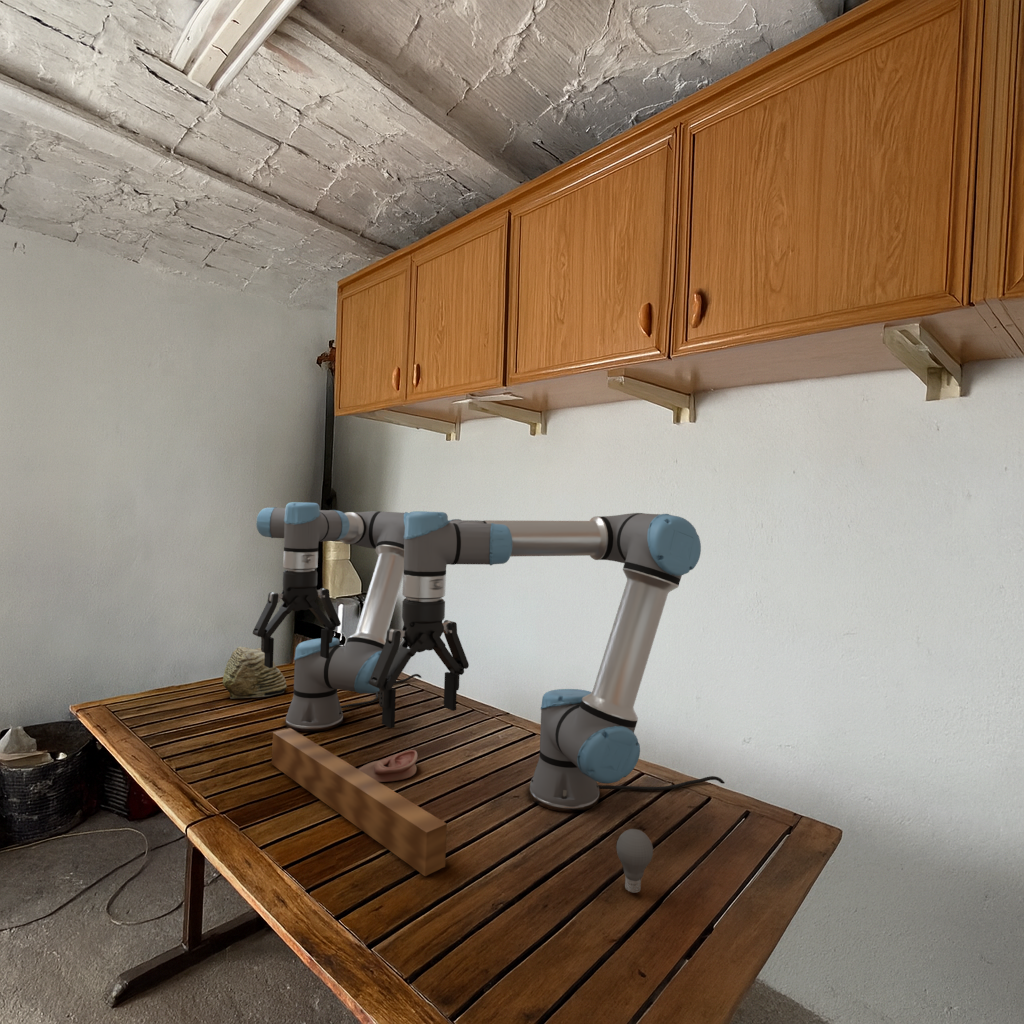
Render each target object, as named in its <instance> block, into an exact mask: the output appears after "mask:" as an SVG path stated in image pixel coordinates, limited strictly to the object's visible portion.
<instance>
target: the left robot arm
mask: <svg viewBox="0 0 1024 1024" xmlns="http://www.w3.org/2000/svg"><path fill="white" fill-rule="evenodd" d="M409 513H410V512H407V511H405V512H398V511H397V512H396V511H380V510H372V511H371V510H369V511H368V510H367V511H357V512H355V511H347V512H343V511H340V510H336V509H329V510H326V509H321V508H320V505H319V504H318V502H305V501H303V502H301V501H300V502H299V501H291V502H288V503H287V504H286V505H285V507H276V506H274V507H264V508H262V509H261V510H259V512H258V514H257V516H256V523H255V524H256V529H257V532H258V533H259V534H260V535H261V536H262V537H265V538H271V539H284V541H283V543H284V544H283V545H284V546H283V558H282V559H283V560H282V561H283V562H282V568H283V569H285V570H283V572H282V591H281V592H273V591H270V592H268V594H267V601H266V604H265V606H264V608H263V610H262V611H261V614H260V616H259V617H258V620H257V622H256V624H255V626H254V628H253V629H252V635H253V636H256V637H258V638H260V639H261V640H260V648H261V651H262V652H264V653H265V660H264V666H266V667H268V668H273V661H274V646H275V638H274V637H272V635H274V633H275V632H276V630H277V629H278V628H279V626H280V625H281V624H282V623H283V622H284V620H285V619H286V618H287V616H288V615H290V614H291V613H292V612H293V611H294V612H299V611H301V610H302V611H308V610H309V611H310V612H311V613H312V614H313V615H314V616H315V618H316V619H317V621H319V623H320V624H321V626H323V627H324V628H320V638H319V637H318V638H313V639H307V640H304V641H302V642H299V643H298V644H297V645H296V647H295V652H294V653H295V654H294V658H293V660H294V672H293V695H292V696H293V697H292V699H291V702H290V704H289V707H288V709H287V713H286V715H285V726H286V728H287V729H289V728H291V729H293V730H295V731H296V732H301V733H316V732H325V731H329V730H332V729H335V728H337V727H339V726H340V725H342V723H343V722H344V714H343V709H347V708H352V707H358V706H365V705H369V704H372V703H375V702H377V701H379V688H377V687H375V686H372V685H370V684H369V680H370V678H371V675H372V673H373V671H374V668H375V666H376V663H377V661H378V659H379V656H380V654H381V652H382V649H383V647H384V645H385V642H386V636H387V630H388V629H389V628H390V627H391V626H390V625H391V623H392V622H391V621H392V619H393V615H394V611H395V608H396V604H397V600H398V597H399V594H400V589H401V588H402V587H401V586H402V584H403V574H404V534H405V523H406V516H407V515H408V514H409ZM336 541H340V542H341V543H343V544H344V545H353V546H356V547H357V546H358V547H362V548H365V549H366V548H367V549H371V550H373V549H374V551H375V553H376V555H377V556H378V557H377V560H376V563H375V566H374V569H373V573H372V577H371V580H370V583H369V586H368V589H367V592H366V596H365V599H364V602H363V606H362V608H361V612H360V616H359V620H358V622H357V626H356V629H355V632H354V633H353V634H351V635H350V636H348V637H347V639H346V642H345V645H340V644H341V643H340V642H341V641H340V639H339V638H337V637H334V636H333V634H334V631H335V630H336V628H338V627H340V626H341V623H342V622H341V620H340V618H339V616H338V614H337V611H336V609H335V607H334V604H333V601H332V600H331V596H330V595H331V593H330V589H328V588H326V587H321V588H320V589H317V586H318V574H319V573H318V571H317V570H316V569H317V568H318V567H319V566H318V565H319V564H318V563H319V543H321V542H336ZM317 597H318V598H319V599H320V601H321V602H320V603H322V606H323V608H324V610H325V612H326V615H327V616H326V615H325V614H324V612H323V611H322V609H320V606H319V605H318V604H317V603H316V599H317ZM281 600H282V604H281V605H280V606H279V608H278V610H277V611H276V613H275V610H276V608H277V606H278V603H280V602H281ZM274 613H275V614H274ZM273 614H274V616H273ZM415 677H417V678H419V679H422V675H420V674H419V673H414V674H411V675H410V676H408V677H406V678H403V679H399V680H396V682H395V683H394V685H395V684H400V683H404V682H407V681H409V680H411V679H412V678H415ZM338 690H339V691H347V692H351V693H353V692H354V693H357V694H361V695H362V694H369V695H372V694H375V698H373V699H370V700H367V701H361V702H354V703H348V704H344V705H341V702H340V699H339V695H338Z"/></svg>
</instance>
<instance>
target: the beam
mask: <svg viewBox="0 0 1024 1024" xmlns="http://www.w3.org/2000/svg"><path fill="white" fill-rule="evenodd" d="M271 743H272V745H271V747H272V748H271V765H272V766H273V767H274V768H276V769H277V770H279V771H280V772H282V773H283V774H284V775H286V776H287V777H288V778H290V779H291V780H293V781H294V782H295V783H296V784H297V785H300V787H302V789H305V790H306V791H307V792H309V793H310V794H311V795H313V796H314V797H315V798H316V799H318V800H320V801H321V802H322V803H324V804H325V805H327V806H329V808H331V809H332V810H333V811H335V812H336V813H337V814H338V815H340V816H342V817H343V818H344V819H346V820H347V821H348V822H350V823H351V824H352V825H354V826H355V827H357V828H358V829H359V830H361V831H362V832H364V833H365V834H366V835H368V837H370V838H372V839H373V840H375V842H377V843H379V844H380V845H381V846H383V847H384V848H385V849H387V850H388V851H389V852H391V853H392V854H393V855H395V857H398V858H399V859H400V860H401V861H403V862H405V863H406V864H407V865H409V866H410V867H411V868H412V869H414V870H415V871H416V872H418V873H419V874H420V875H422V876H423V877H427V876H429V875H431V874H433V873H435V872H437V871H439V870H441V869H443V868H446V851H447V831H448V830H447V829H448V828H447V827H448V824H447V823H446V822H445V821H444V820H442V819H440V818H439V817H437V816H435V815H433V814H432V813H430V812H429V811H427V810H426V809H424V808H422V807H420V806H419V805H417V804H415V803H414V802H412V801H411V800H409V799H408V798H405V797H404V796H403V795H400V794H399V793H397V792H396V791H394V790H392V789H391V788H389V787H388V786H386V785H384V783H382V782H378V781H376V780H375V779H373V778H371V777H370V776H368V775H366V774H365V773H363V772H361V771H360V770H358V769H359V768H356V767H355V766H353V765H351V764H350V763H349V762H347V761H346V760H344V759H342V758H341V757H339V756H337V755H335V754H334V753H332V752H331V751H329V750H327V749H325V748H324V747H322V746H321V745H319V744H317V743H316V742H314V741H313V740H311V739H309V738H308V737H306V736H304V735H303V734H302V733H300V732H299V731H295V730H293V729H291V728H286V729H285V728H284V729H282V730H277V731H272V742H271Z"/></svg>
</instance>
